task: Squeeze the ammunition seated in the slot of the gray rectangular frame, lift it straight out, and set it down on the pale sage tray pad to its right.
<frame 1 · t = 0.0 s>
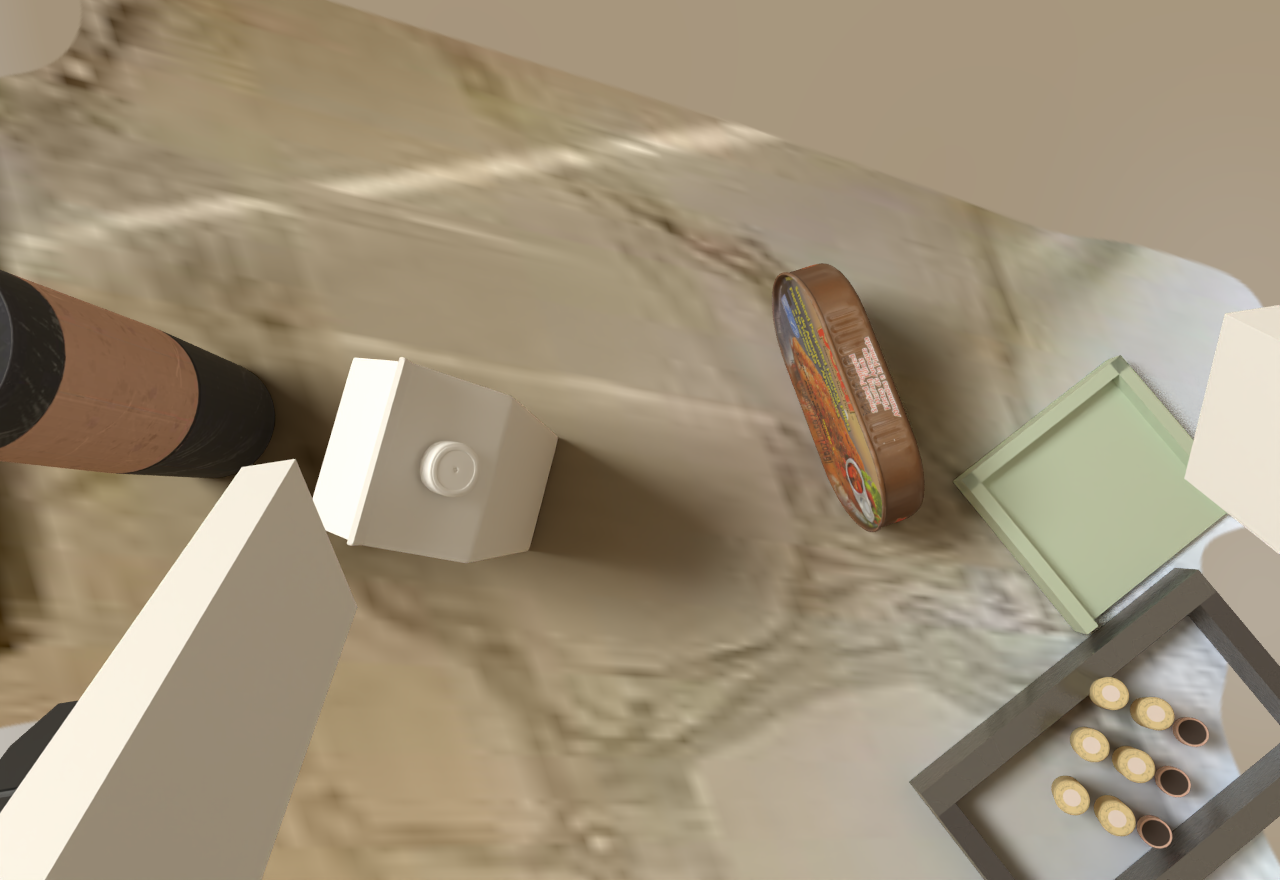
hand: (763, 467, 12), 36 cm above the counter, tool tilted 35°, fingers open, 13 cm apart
tin: (827, 406, 48), on the counter
ammunition: (1101, 747, 46), resting in gray rectangular frame
tray pad: (1091, 493, 47), on the counter
gray rectangular frame: (1115, 763, 45), on the counter
travel mug: (220, 420, 49), on the counter
milk carton: (488, 479, 48), on the counter
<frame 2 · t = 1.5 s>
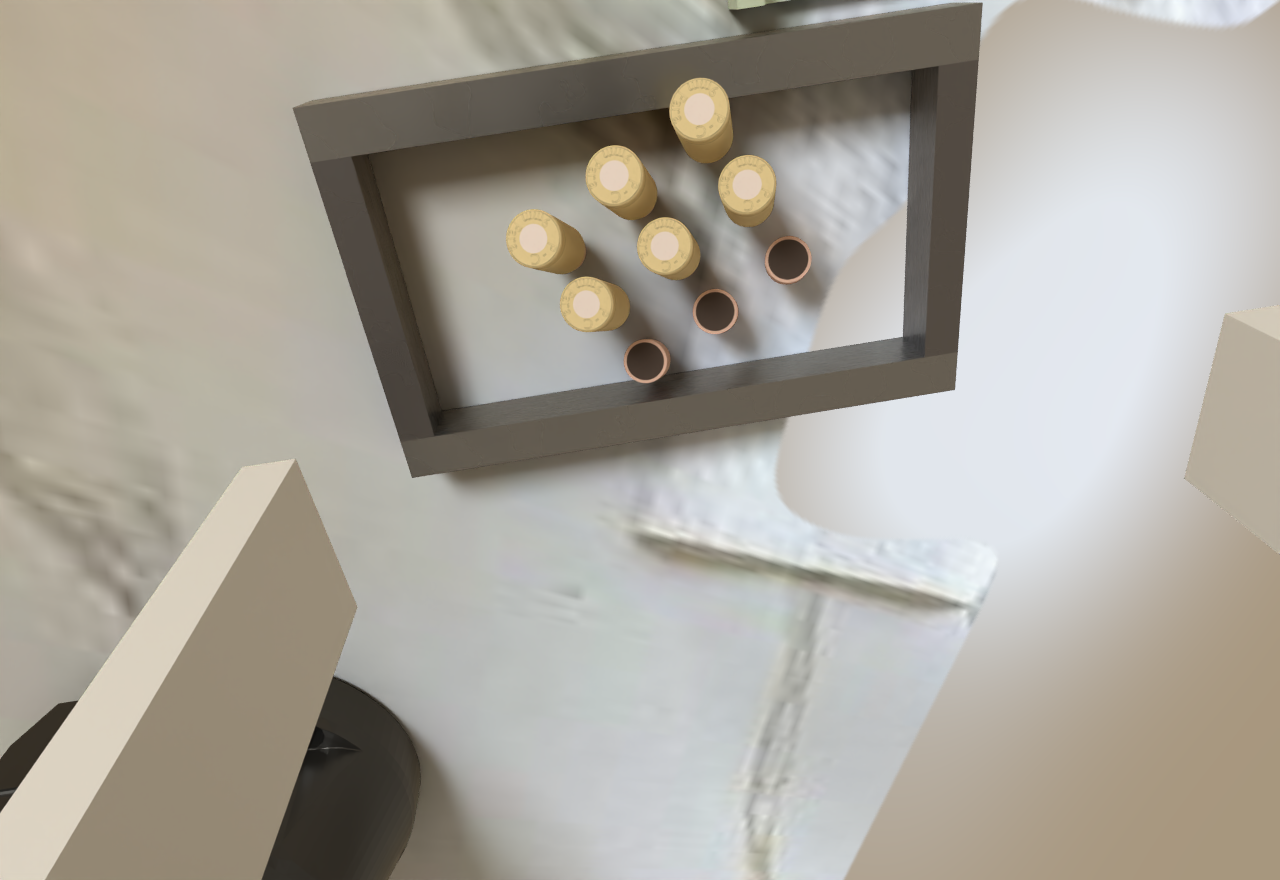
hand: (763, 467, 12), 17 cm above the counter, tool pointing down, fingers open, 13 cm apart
ammunition: (661, 229, 27), resting in gray rectangular frame
gray rectangular frame: (658, 250, 27), on the counter
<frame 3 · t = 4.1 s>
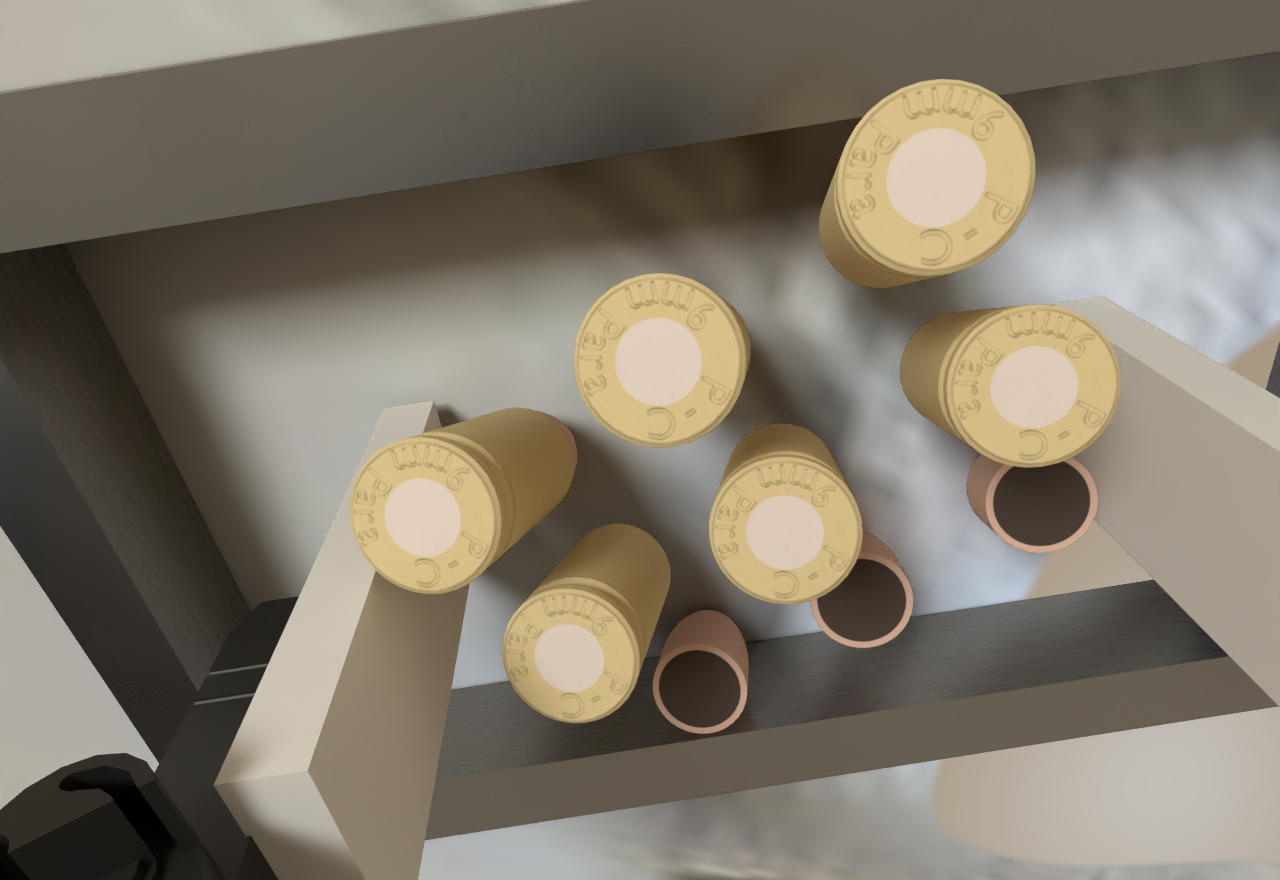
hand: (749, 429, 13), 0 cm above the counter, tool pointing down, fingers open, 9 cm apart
ammunition: (741, 396, 13), resting in gray rectangular frame
gray rectangular frame: (738, 426, 13), on the counter
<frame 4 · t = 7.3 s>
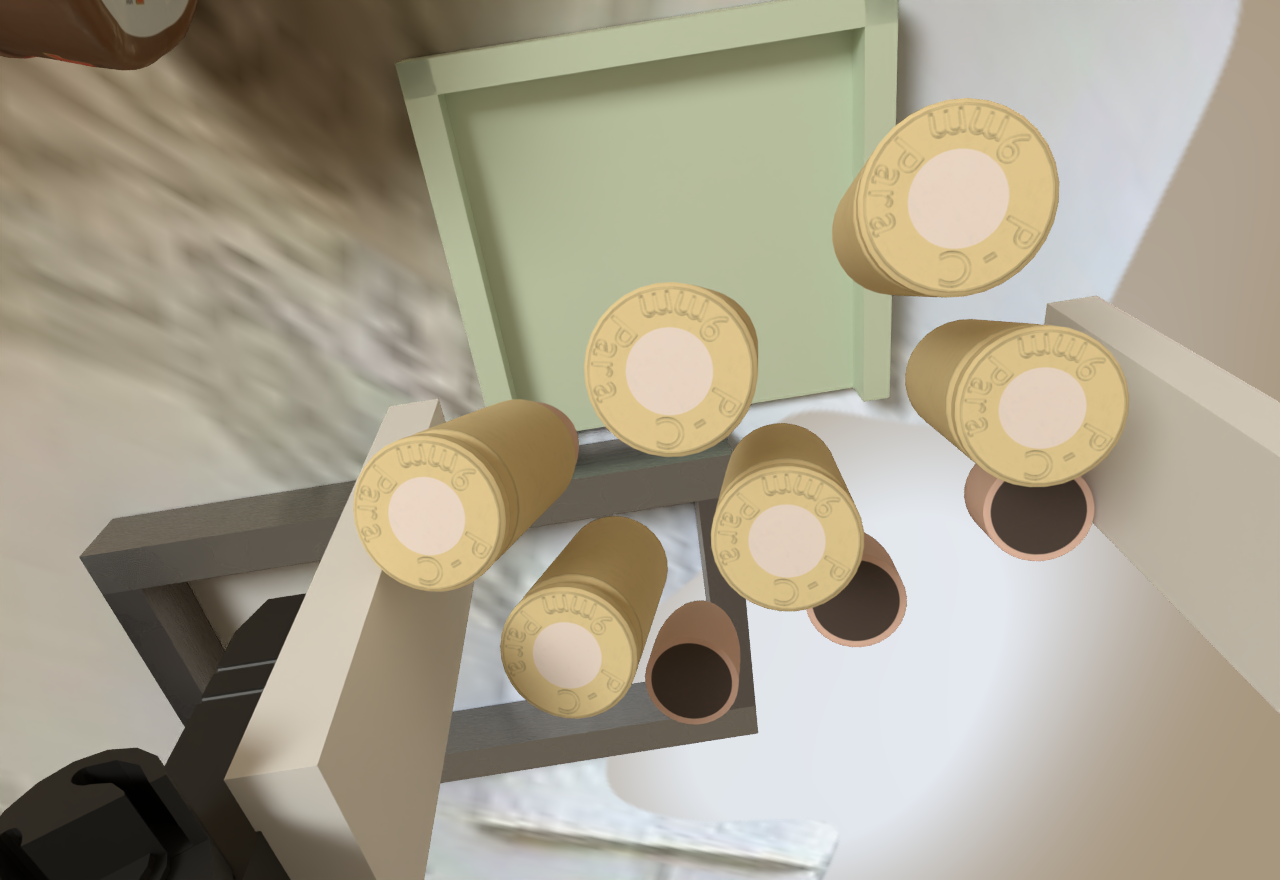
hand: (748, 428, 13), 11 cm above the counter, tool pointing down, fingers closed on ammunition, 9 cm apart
ammunition: (744, 391, 13), point 11 cm above the counter, touching gripper
tray pad: (668, 237, 23), on the counter
gray rectangular frame: (464, 615, 29), on the counter
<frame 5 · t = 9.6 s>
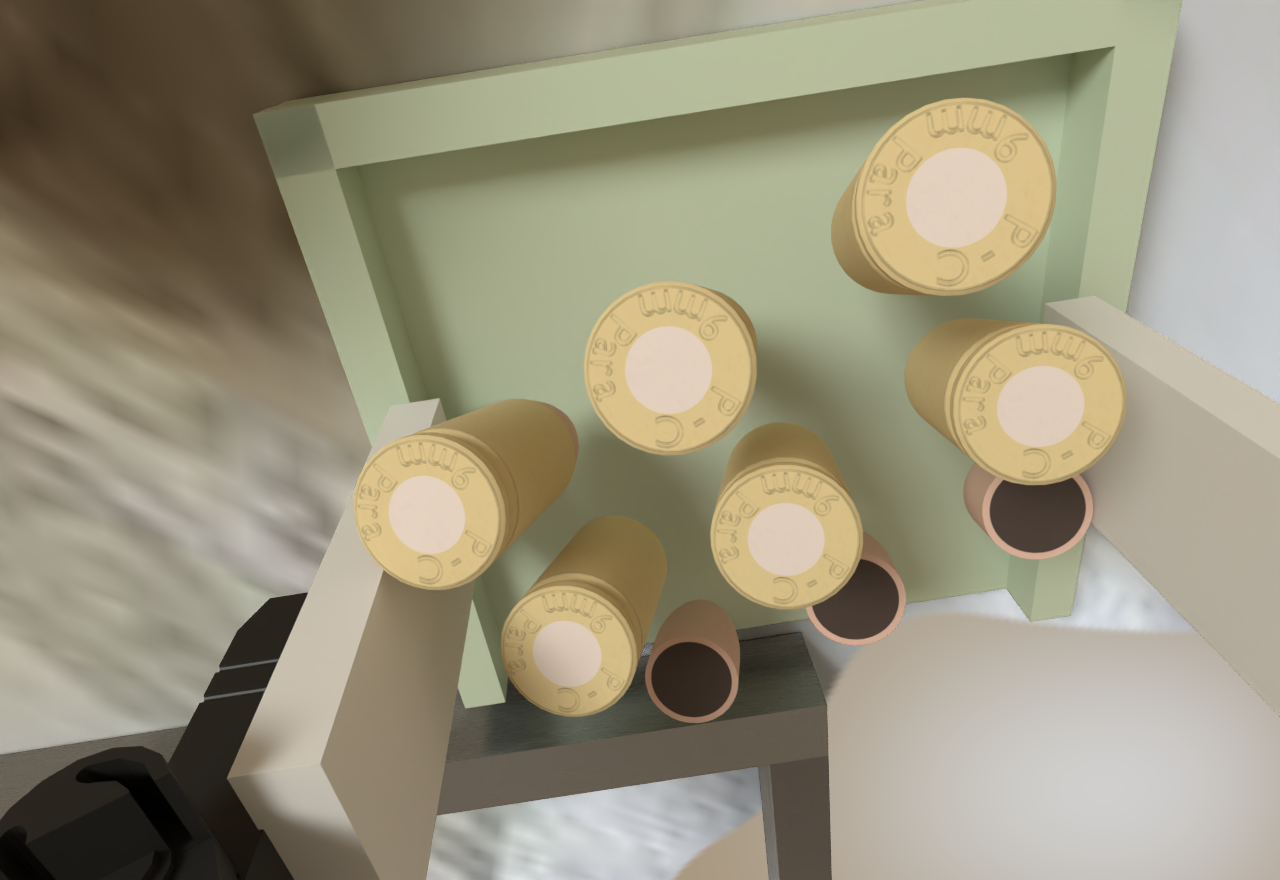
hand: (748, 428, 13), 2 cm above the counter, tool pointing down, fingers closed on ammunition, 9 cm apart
ammunition: (743, 391, 13), point 1 cm above the counter, touching gripper
tray pad: (733, 380, 14), on the counter
gray rectangular frame: (423, 871, 20), on the counter
when the fingers open (2 cm above the counter, at t = 9.8 s): ammunition stays where it is, resting on tray pad.
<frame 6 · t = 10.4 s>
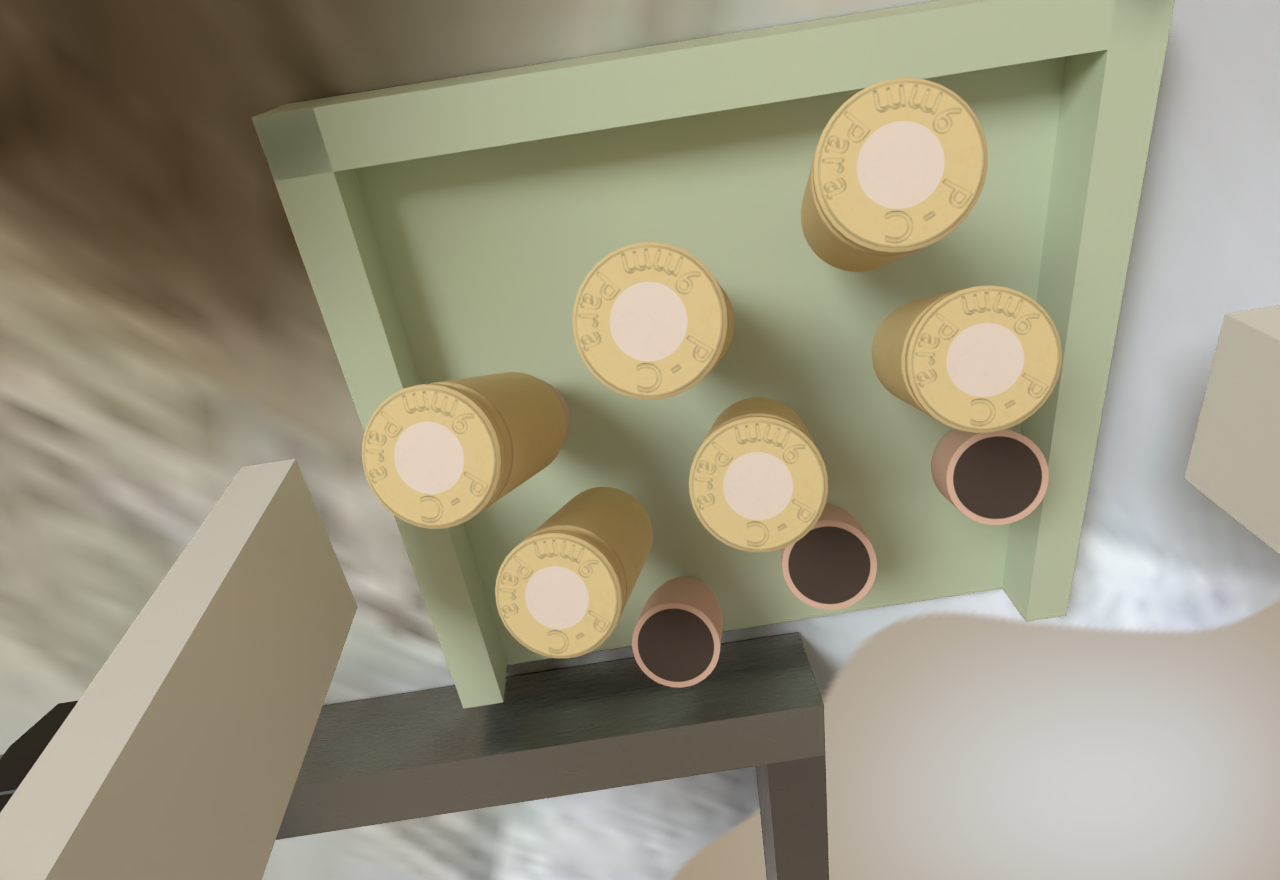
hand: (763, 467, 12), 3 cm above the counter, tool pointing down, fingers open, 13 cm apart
ammunition: (724, 373, 14), resting on tray pad
tray pad: (729, 382, 14), on the counter
gray rectangular frame: (422, 871, 20), on the counter
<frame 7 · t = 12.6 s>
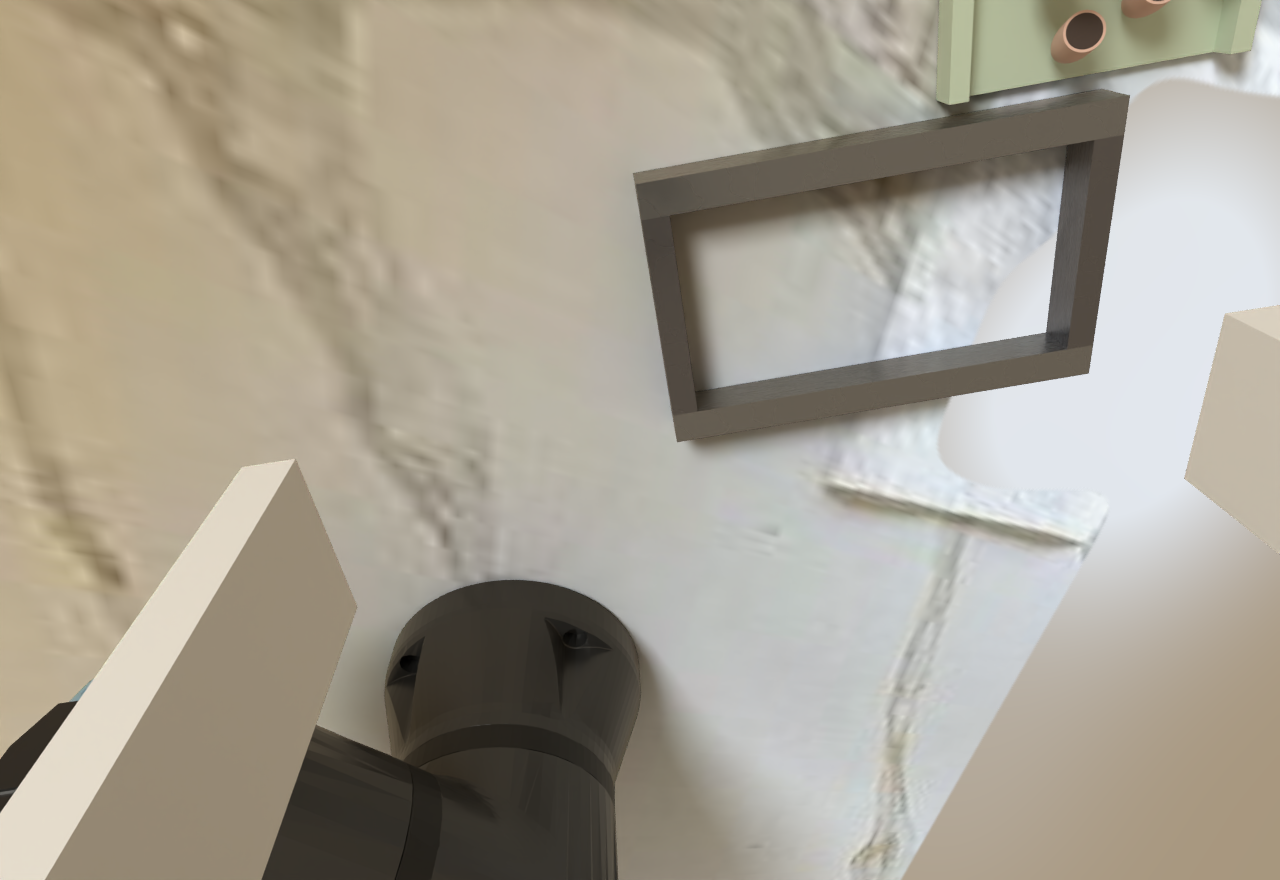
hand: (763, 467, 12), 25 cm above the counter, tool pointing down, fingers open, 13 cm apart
gray rectangular frame: (866, 271, 37), on the counter
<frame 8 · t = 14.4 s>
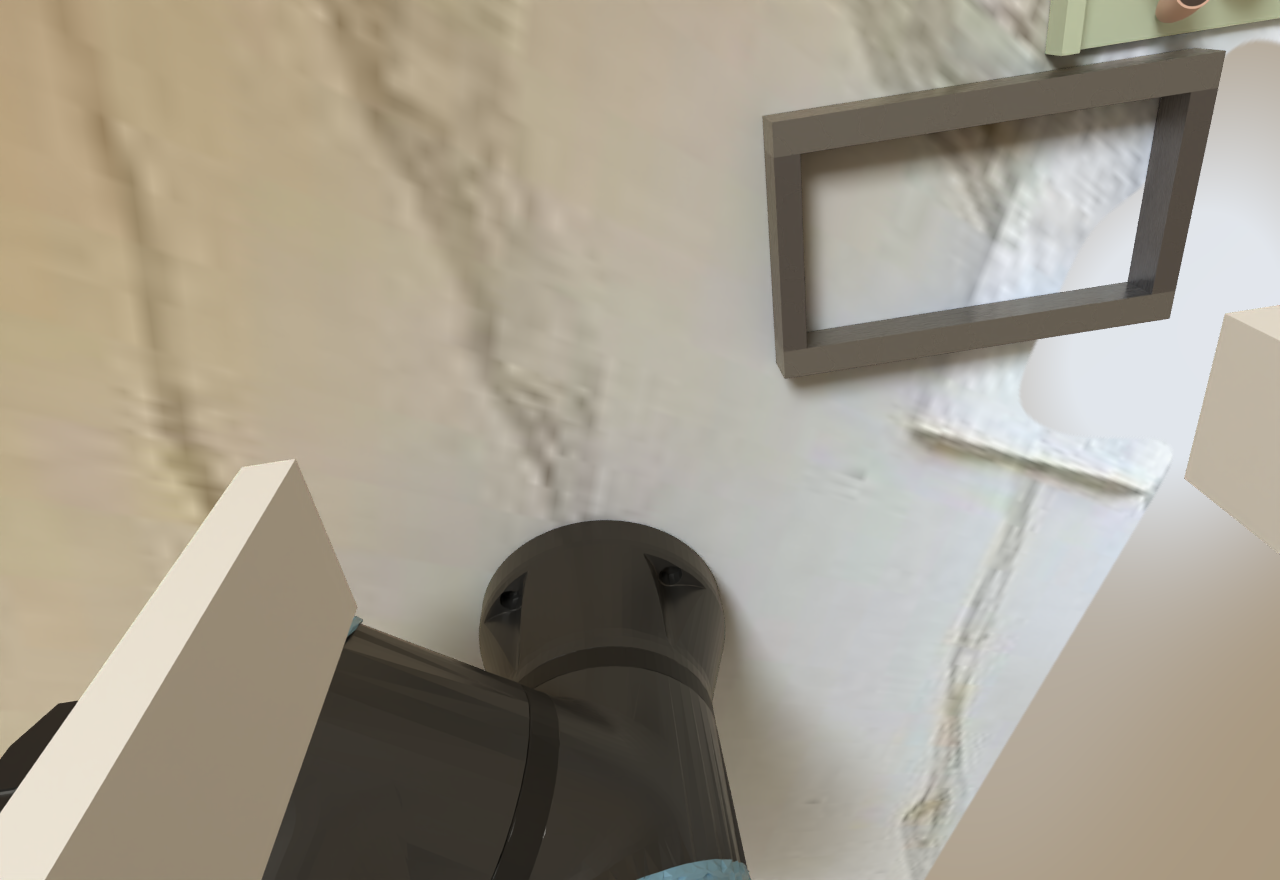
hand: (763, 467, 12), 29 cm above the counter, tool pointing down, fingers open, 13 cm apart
gray rectangular frame: (968, 218, 39), on the counter
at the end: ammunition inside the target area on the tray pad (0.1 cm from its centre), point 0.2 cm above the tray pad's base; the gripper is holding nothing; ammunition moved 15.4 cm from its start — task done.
